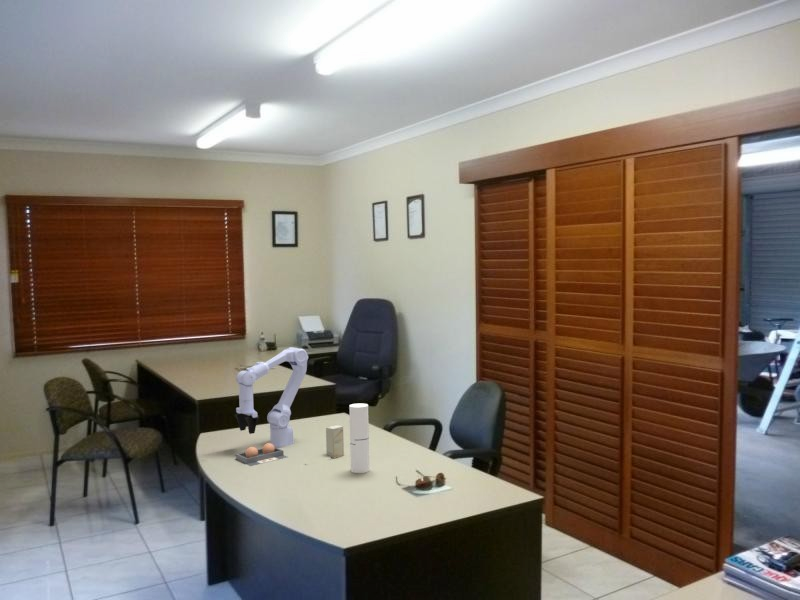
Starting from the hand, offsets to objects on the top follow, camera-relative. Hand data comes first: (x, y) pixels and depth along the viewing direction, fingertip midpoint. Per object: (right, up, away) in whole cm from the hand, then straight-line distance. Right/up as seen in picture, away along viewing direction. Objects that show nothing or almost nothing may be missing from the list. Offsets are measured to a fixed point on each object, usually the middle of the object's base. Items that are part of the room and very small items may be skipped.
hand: (247, 431), depth 268 cm
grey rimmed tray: (+8, -10, -9) cm, 16 cm away
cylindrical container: (+49, -10, -24) cm, 55 cm away
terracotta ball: (+4, -9, -11) cm, 15 cm away
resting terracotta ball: (+10, -9, -6) cm, 14 cm away
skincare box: (+37, -9, -5) cm, 39 cm away
